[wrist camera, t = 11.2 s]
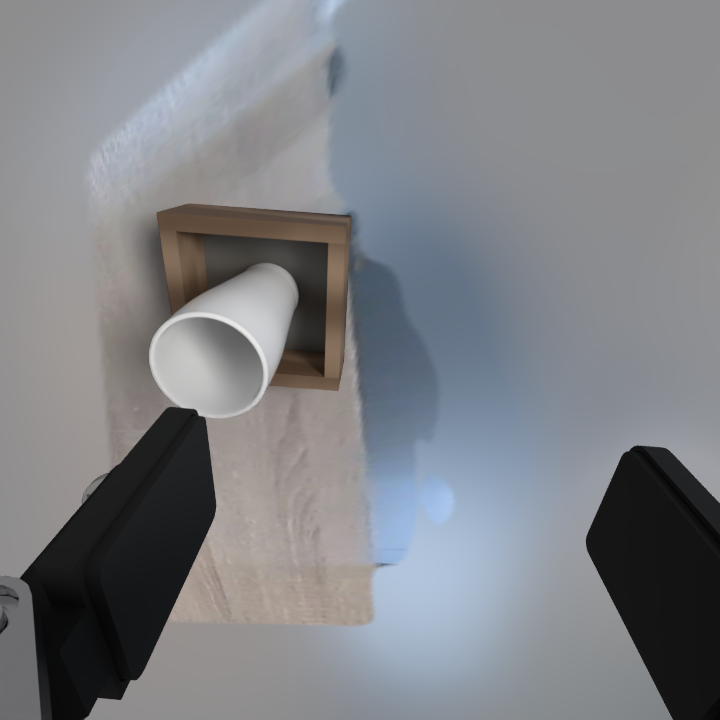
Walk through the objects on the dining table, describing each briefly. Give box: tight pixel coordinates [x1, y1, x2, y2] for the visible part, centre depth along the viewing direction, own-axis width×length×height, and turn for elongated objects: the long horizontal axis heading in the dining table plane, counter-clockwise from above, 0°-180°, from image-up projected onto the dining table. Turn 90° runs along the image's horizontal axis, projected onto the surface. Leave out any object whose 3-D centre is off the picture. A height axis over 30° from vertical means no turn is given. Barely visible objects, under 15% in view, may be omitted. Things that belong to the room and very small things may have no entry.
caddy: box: [157, 204, 351, 391], centre depth 35 cm, size 13×13×6 cm
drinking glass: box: [149, 263, 299, 419], centre depth 30 cm, size 7×7×15 cm
